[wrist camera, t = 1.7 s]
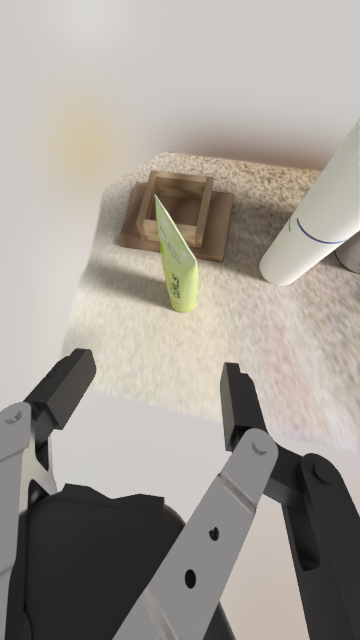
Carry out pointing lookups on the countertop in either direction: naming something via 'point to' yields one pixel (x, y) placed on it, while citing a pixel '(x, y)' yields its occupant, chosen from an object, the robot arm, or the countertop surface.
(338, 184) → the cylindrical container
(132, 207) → the wooden box on board
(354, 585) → the robot arm
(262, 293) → the countertop surface
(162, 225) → the tube
